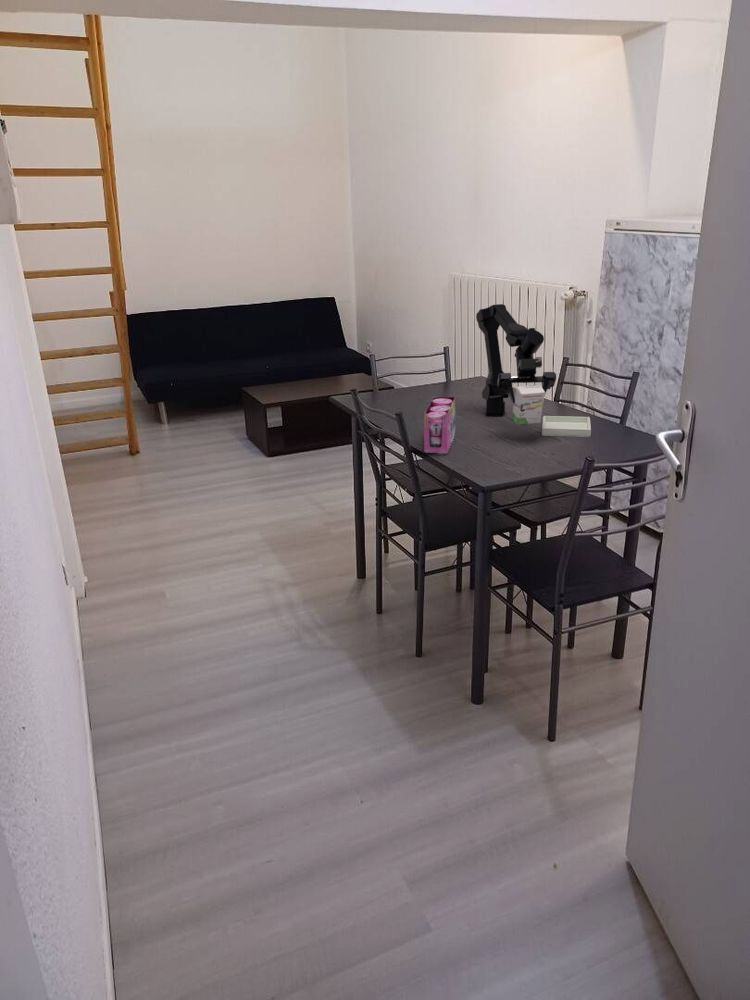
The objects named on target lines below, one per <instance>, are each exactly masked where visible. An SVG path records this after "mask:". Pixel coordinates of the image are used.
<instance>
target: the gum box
mask: <svg viewBox="0 0 750 1000" xmlns="http://www.w3.org/2000/svg"><path fill="white" fill-rule="evenodd" d="M423 421H424V426H423V432H424V433H423V436H424V437H423V453H424V452H435V453H436V452H437V453H449V451H450V449H451V447H452V444H453V442H454V440H455V438H454V436H455V437H456V435H455V433H456V396H433V397H432V398H431V401H430V403H429V404H428V407H427V408H426V409H425V411H424V419H423ZM453 439H454V440H453ZM452 441H453V442H452ZM451 443H452V444H451ZM450 446H451V447H450ZM449 448H450V449H449ZM448 450H449V451H448Z"/></svg>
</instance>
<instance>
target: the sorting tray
mask: <svg viewBox="0 0 750 1000" xmlns="http://www.w3.org/2000/svg"><path fill="white" fill-rule="evenodd" d="M541 427H542V428H541V436H546V437H578V438H581V437H582V438H591V437H592V436H591V435H592V434H591V433H592V427H591V419H590V416H568V415H567V416H565V415H564V416H563V415H562V416H559V415H543V416H542V426H541Z"/></svg>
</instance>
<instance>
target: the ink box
mask: <svg viewBox="0 0 750 1000" xmlns="http://www.w3.org/2000/svg"><path fill="white" fill-rule="evenodd" d="M545 396H546V393H545V391H544V390H543V388H542V385H540V384H533V385H520V386H519V385H518V386H517V387H515V393H514V399H515V402H514V403H513V407H512V412H511V419H512V421H513V422H514V424H515V425H518V426H519V425H527V424H538V423H539V424H540V423H541V418H542V413H543V407H544V402H545Z"/></svg>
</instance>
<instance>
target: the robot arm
mask: <svg viewBox="0 0 750 1000" xmlns="http://www.w3.org/2000/svg"><path fill="white" fill-rule="evenodd" d="M475 317H476V319H475V320H476V322H477V324H478V328H479V330H481V333H483V336H484V343H485V351H486V357H487V365H488V375H487V377H486V379H485V386H484V388H483V390H482V391H481V398H482V399H484V400H486V401H485V402H486V404H485V405H486V407H485V408H486V409H485V410H486V411H485V417H504V414H505V413H506V401H505V399H510V401H511V402H512V404H514V402H515V393H514V388H513V384H520V383H523V384H532V383H533V384H534V383H541V387H542V388H543V390H544V391H545V394H547V391H548V390H551V388H553V387H555V384H556V380H557V373H556V372H555V371H543V372H542V375H541V376H539V375H537V368H542V367H543V359H542V356H536V357H534V354H535V353H537V352H538V350H539V349H540V347H541V345H542V344H543V343H544V340H545V338H544V335H543V334H542V333H541V332H540V331H538V330H536V328H535V327H531V328H527V327H526V326H524V325H523V324H520V323H518V322H517V321H516V320H515V318H514V317H513V316H512V314H511V313H510V311H508V309H507V306H506V305H505V304H503V303H501V304H500V303H499V304H492V305H490V306H488V307H486V308H480V309H479V310H478V311H477V312H476V316H475ZM500 327H501V328H502V330H503V332H505V340H506V342H507V344H508V345H509V347H511V348H513V347H517V348H516V349H515V352H514V357H515V363H516V375H517V376H512V374H511V372H504V371H503V365H502V359H501V351H500V343H499V335H498V330H499V328H500ZM536 375H537V376H536Z"/></svg>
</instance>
